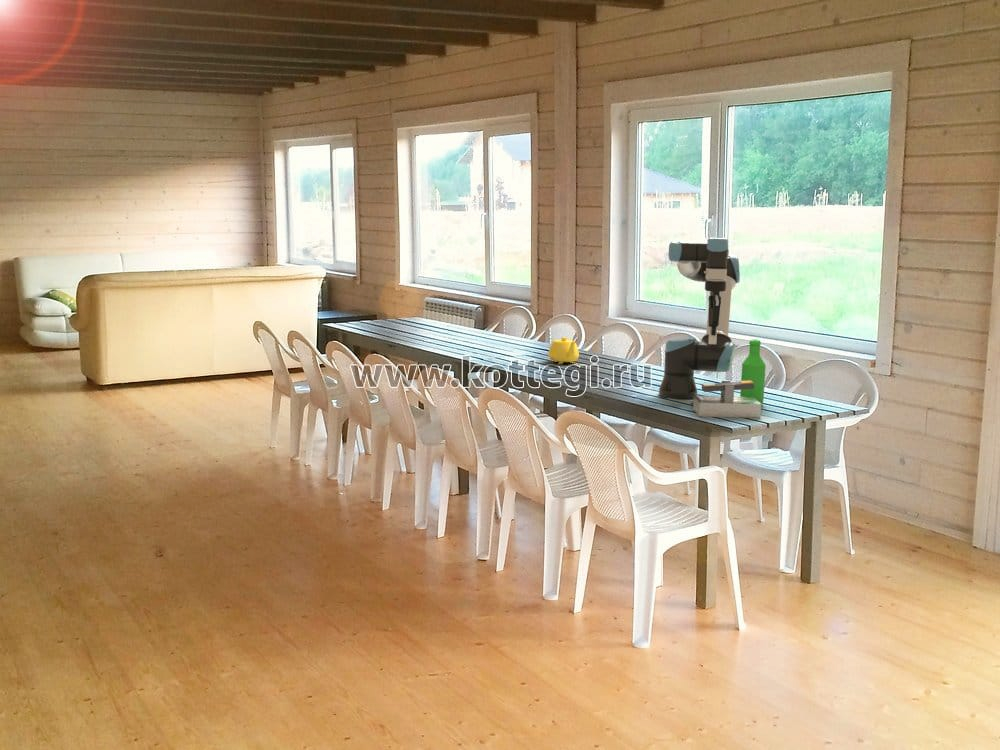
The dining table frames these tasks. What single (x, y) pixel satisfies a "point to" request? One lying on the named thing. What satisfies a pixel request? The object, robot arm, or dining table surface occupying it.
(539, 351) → the dining table surface
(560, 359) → the teapot
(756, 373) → the bottle
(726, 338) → the robot arm
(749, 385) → the rocker
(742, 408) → the grey seesaw stand
